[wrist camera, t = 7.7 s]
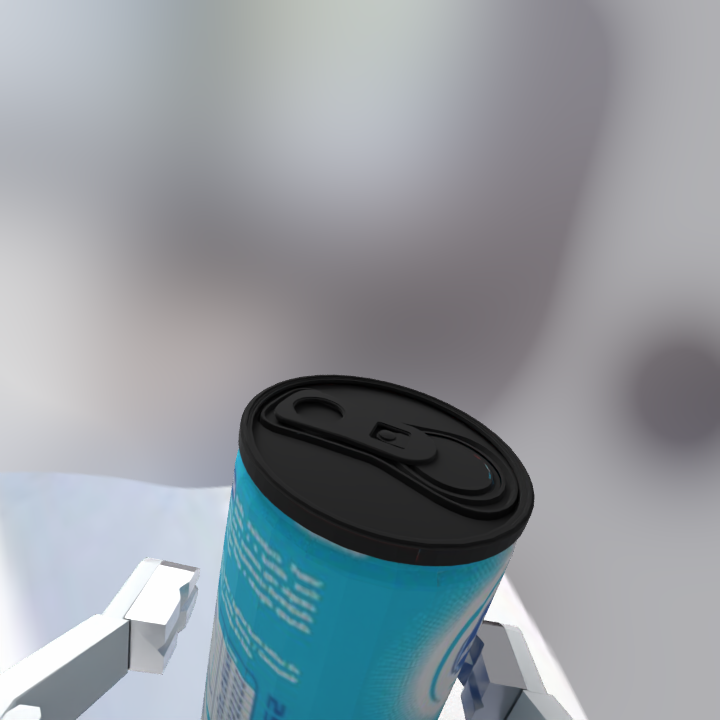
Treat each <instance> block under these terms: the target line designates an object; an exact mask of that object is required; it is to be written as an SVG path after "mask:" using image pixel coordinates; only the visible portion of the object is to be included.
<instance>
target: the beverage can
mask: <svg viewBox="0 0 720 720" xmlns="http://www.w3.org/2000/svg"><path fill="white" fill-rule="evenodd" d="M533 507H534V491H533V485H532V482H531V479H530V477H529V475H528V473H527V471H526V469H525V467H524V466H523V464H522V462H521V461H520V460H519V458H518V457H517V456H516V454H515V453H514V452H513V451H512V449H511V448H510V447H509V446H508V445H507V444H506V443H505V442H504V441H503V440H502V439H501V438H500V437H498V436H497V435H496V434H495V433H494V432H492V431H491V430H490V429H488V428H487V427H486V426H485V425H483V424H482V423H481V422H479V421H477V420H476V419H474V418H473V417H471V416H469V415H468V414H467V413H465V412H463V411H461V410H459V409H457V408H455V407H454V406H451V405H450V404H448V403H445V402H443V401H441V400H439V399H437V398H435V397H432V396H429V395H427V394H425V393H422V392H419V391H416V390H413V389H410V388H407V387H404V386H400V385H396V384H393V383H389V382H385V381H380V380H375V379H370V378H363V377H356V376H345V375H315V376H305V377H299V378H294V379H289V380H286V381H283V382H280V383H277V384H275V385H273V386H271V387H269V388H267V389H265V390H263V391H262V392H260V393H259V394H258V395H256V396H255V397H254V398H253V399H252V400H251V401H250V402H249V404H248V405H247V407H246V408H245V410H244V412H243V415H242V419H241V423H240V431H239V450H238V454H237V458H236V462H235V469H234V476H233V483H232V490H231V497H230V504H229V511H228V518H227V526H226V533H225V540H224V547H223V555H222V562H221V570H220V577H219V585H218V592H217V600H216V608H215V615H214V623H213V630H212V638H211V645H210V653H209V661H208V669H207V677H206V685H205V693H204V701H203V709H202V717H201V720H438V718H439V715H440V713H441V711H442V709H443V707H444V705H445V702H446V700H447V698H448V696H449V694H450V691H451V689H452V687H453V685H454V683H455V681H456V678H457V676H458V674H459V672H460V670H461V668H462V665H463V663H464V661H465V659H466V657H467V655H468V652H469V650H470V648H471V646H472V644H473V641H474V639H475V637H476V635H477V633H478V631H479V628H480V626H481V624H482V622H483V619H484V617H485V615H486V613H487V610H488V608H489V606H490V604H491V602H492V599H493V597H494V595H495V593H496V590H497V588H498V586H499V584H500V581H501V579H502V577H503V575H504V572H505V570H506V568H507V565H508V563H509V561H510V559H511V556H512V554H513V552H514V548H515V544H516V541H517V539H518V538H519V537H520V536H521V534H522V532H523V530H524V529H525V527H526V525H527V522H528V520H529V518H530V516H531V513H532V510H533Z"/></svg>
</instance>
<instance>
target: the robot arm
mask: <svg viewBox="0 0 720 720" xmlns="http://www.w3.org/2000/svg"><path fill="white" fill-rule="evenodd" d="M199 574H200V568H196V567H191V566H187V565H182V564H177V563H173V562H168V561H164V560H158V559H153V558H148V557H146V558H145V559H144V560H142V561H141V562H140V563H139V565H138V566H137V567H136V569H135V570H134V571H133V573H132V574H131V575H130V577H129V578H128V580H127V581H126V582H125V584H124V585H123V586H122V588H121V589H120V590H119V592H118V593H117V595H116V596H115V597H114V599H113V600H112V601H111V603H110V604H109V605H108V607H107V608H106V610H105V611H104V612H103V614H102V615H99V614H95V615H94V616H92V617H90V618H89V619H87V620H86V621H84V622H82V623H81V624H79V625H78V626H76V627H74V628H73V629H71V630H70V631H68V632H67V633H65V634H63V635H62V636H60V637H59V638H57V639H55V640H54V641H52V642H51V643H49V644H47V645H46V646H44V647H43V648H41V649H39V650H38V651H36V652H35V653H33V654H32V655H30V656H28V657H27V658H25V659H24V660H22V661H20V662H19V663H17V664H16V665H14V666H12V667H11V668H9V669H8V670H6V671H5V672H3V673H1V674H0V720H76V719H77V718H78V717H79V716H80V715H81V714H82V713H84V712H85V711H86V710H87V709H88V708H89V707H90V706H91V705H92V704H94V703H95V702H96V701H97V700H98V699H99V698H100V697H101V696H102V695H104V694H105V693H106V692H107V691H108V690H109V689H110V688H111V687H112V686H114V685H115V684H116V683H117V682H118V681H119V680H120V679H121V678H122V677H124V676H125V675H126V674H127V673H128V670H131V671H138V672H146V673H153V674H161V675H162V674H163V672H164V670H165V668H166V666H167V664H168V662H169V660H170V658H171V656H172V654H173V652H174V650H175V648H176V645H177V635H178V633H179V632H180V631H182V630H183V629H184V628H185V627H186V625H187V623H188V621H189V618H190V616H191V614H192V611H193V608H194V605H195V602H196V598H197V593H198V588H197V586H196V585H195V584H196V582H197V581H198V579H199ZM457 677H458V679H459V680H460V682H461V683H462V685H463V686H464V688H463V690H462V693H461V700H462V704H463V709H464V714H465V718H466V720H574V719H573V718H572V717H571V716H570V715H569V714H568V713H567V711H566V710H565V709H564V708H563V707H562V706H561V704H560V703H559V702H558V701H557V700H556V699H555V697H554V696H553V695H550V694H547V692H546V689H545V687H544V685H543V682H542V680H541V677H540V675H539V672H538V670H537V668H536V665H535V663H534V660H533V658H532V656H531V653H530V651H529V648H528V646H527V643H526V641H525V639H524V636H523V634H522V631H521V630H520V629H519V628H518V627H516V626H512V625H506V624H500V623H498V622H492V621H486V620H483V622H482V624H481V626H480V628H479V631H478V633H477V635H476V637H475V639H474V641H473V644H472V646H471V648H470V650H469V652H468V655H467V657H466V659H465V661H464V663H463V665H462V668H461V670H460V672H459V674H458V676H457Z"/></svg>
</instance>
